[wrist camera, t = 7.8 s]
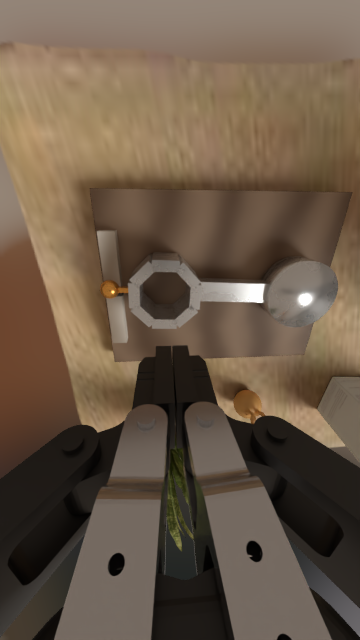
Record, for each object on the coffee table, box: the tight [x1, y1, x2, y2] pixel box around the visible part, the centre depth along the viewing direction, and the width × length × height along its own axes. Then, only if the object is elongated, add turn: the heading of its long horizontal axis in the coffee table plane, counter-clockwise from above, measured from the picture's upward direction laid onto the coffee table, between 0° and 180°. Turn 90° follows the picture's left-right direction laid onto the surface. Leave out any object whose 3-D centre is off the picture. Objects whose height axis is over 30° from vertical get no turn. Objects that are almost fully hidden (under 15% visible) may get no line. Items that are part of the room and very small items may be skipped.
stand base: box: [90, 188, 352, 362], centre depth 25 cm, size 25×19×3 cm
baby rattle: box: [100, 252, 338, 329], centre depth 23 cm, size 24×7×4 cm, turn 87°
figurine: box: [234, 390, 265, 424], centre depth 29 cm, size 8×6×12 cm
